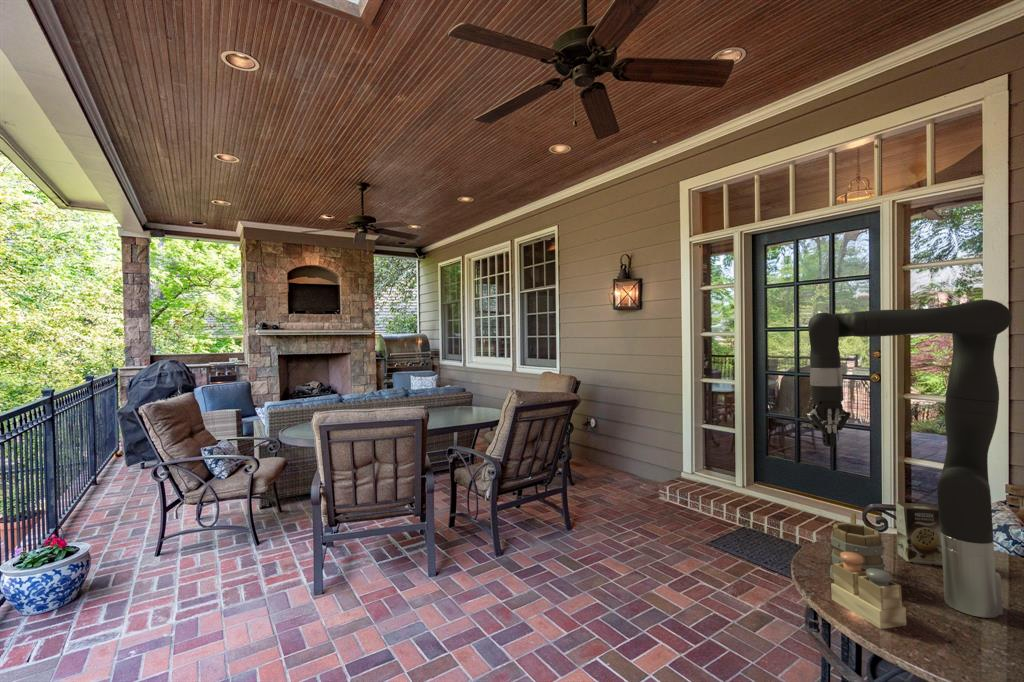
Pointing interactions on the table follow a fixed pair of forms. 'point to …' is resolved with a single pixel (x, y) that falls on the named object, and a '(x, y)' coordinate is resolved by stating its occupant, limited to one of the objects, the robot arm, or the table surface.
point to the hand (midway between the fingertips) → (829, 446)
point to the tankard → (857, 544)
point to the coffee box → (919, 533)
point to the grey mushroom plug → (878, 577)
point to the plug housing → (868, 598)
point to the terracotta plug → (852, 561)
